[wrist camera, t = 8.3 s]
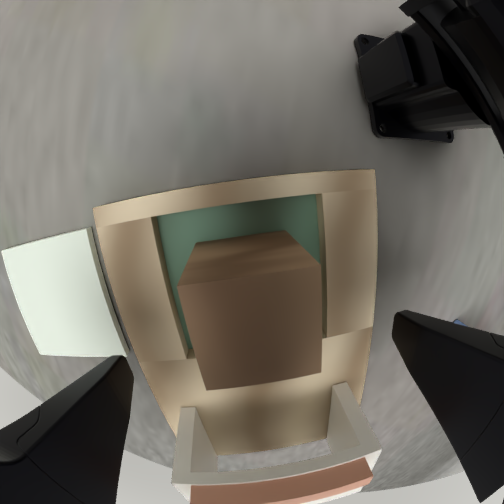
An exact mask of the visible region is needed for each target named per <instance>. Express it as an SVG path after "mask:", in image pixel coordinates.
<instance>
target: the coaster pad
mask: <svg viewBox="0 0 504 504" xmlns="http://www.w3.org/2000/svg"><path fill="white" fill-rule="evenodd" d="M1 252H2V256H3V260H4V263H5V267H6V270H7V274H8V277H9V280H10V283H11V286H12V289H13V292H14V295H15V298H16V300H17V303H18V306H19V308H20V311H21V313H22V316H23V318H24V321H25V323H26V325H27V328H28V330H29V332H30V334H31V336H32V339H33V341H34V343H35V345H36V347H37V349H38V351H39V353H40V355H55V356H79V357H110V356H112V355H123V356H124V357H127V355H128V353H129V349H128V346H127V344H126V341H125V339H124V336H123V333H122V331H121V328H120V325H119V323H118V320H117V317H116V314H115V311H114V308H113V305H112V302H111V299H110V296H109V293H108V290H107V287H106V283H105V280H104V277H103V273H102V269H101V266H100V262H99V258H98V254H97V250H96V246H95V242H94V238H93V233H92V228H91V227H88V228H84V229H79V230H75V231H71V232H67V233H63V234H59V235H55V236H51V237H47V238H43V239H39V240H35V241H32V242H28V243H24V244H21V245H17V246H14V247H10V248H7V249H5V250H2V251H1Z"/></svg>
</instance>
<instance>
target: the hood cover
mask: <svg viewBox="0 0 504 504" xmlns="http://www.w3.org/2000/svg"><path fill="white" fill-rule="evenodd" d="M326 440H327V442H328V445H329V448H330V451H331V453H332V454H328V455H325V456H321V457H317V458H313V459H308V460H304V461H299V462H294V463H289V464H284V465H278V466H271V467H265V468H257V469H248V470H238V471H224V472H218V456H217V454H216V452H215V450H214V448H213V446H212V444H211V442H210V440H209V437H208V435H207V433H206V431H205V429H204V426H203V424H202V422H201V419H200V417H199V415H198V412H197V410H196V407H185V408H181V409H180V416H179V423H178V430H177V438H176V446H175V454H174V462H173V471H172V482H171V484H172V485H173V486H174V487H175V488H176V489H177V490H178V491H179V492H180V493H181V494H182V495H183V496H184V497H185V498H186V499H187V500H188V501H189V502H190V504H319V503H323V502H326V501H330V500H334V499H337V498H340V497H344V496H347V495H350V494H353V493H356V492H359V491H360V490H361V489H362V487H363V486H364V485H367V484H369V483H370V481H371V479H372V477H373V474H372V472H371V471H372V469H373V467H374V465H375V463H376V461H377V459H378V457H379V455H380V453H381V451H382V447H381V445H380V443H379V441H378V440H377V438H376V436H375V434H374V432H373V430H372V428H371V426H370V424H369V423H368V421H367V419H366V417H365V415H364V413H363V411H362V409H361V408H360V406H359V404H358V402H357V400H356V398H355V397H354V395H353V393H352V391H351V389H350V387H349V385H348V384H347V382H344V383H340V384H337V385H333V386H332V397H331V406H330V415H329V424H328V432H327V439H326Z"/></svg>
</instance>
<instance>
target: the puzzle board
mask: <svg viewBox="0 0 504 504" xmlns="http://www.w3.org/2000/svg"><path fill="white" fill-rule="evenodd" d="M93 213H94V218H95V223H96V228H97V233H98V237H99V242H100V246H101V250H102V254H103V258H104V262H105V266H106V270H107V273H108V277H109V280H110V284H111V287H112V290H113V294H114V297H115V300H116V303H117V306H118V309H119V312H120V315H121V318H122V321H123V323H124V326H125V329H126V332H127V334H128V337H129V339H130V342H131V345H132V347H133V350H134V352H135V354H136V357H137V359H138V362H139V364H140V366H141V368H142V371H143V373H144V375H145V377H146V380H147V382H148V384H149V386H150V388H151V390H152V392H153V394H154V396H155V398H156V400H157V402H158V404H159V406H160V408H161V410H162V412H163V414H164V416H165V418H166V420H167V421H168V423H169V425H170V427H171V429H172V430H173V432H174V434H175V436H176V437H177V430H178V423H179V416H180V409H181V408H185V407H196V410H197V412H198V415H199V417H200V419H201V422H202V424H203V426H204V429H205V431H206V433H207V435H208V437H209V440H210V442H211V444H212V446H213V448H214V450H215V452H216V454H217V455H230V454H241V453H250V452H258V451H265V450H272V449H278V448H284V447H289V446H294V445H299V444H304V443H308V442H313V441H317V440H321V439H325V438H327V432H328V424H329V415H330V406H331V397H332V386H333V385H337V384H340V383H344V382H347V384H348V385H349V387H350V389H351V391H352V393H353V395H354V397H355V398H356V400H357V402H358V404H359V406H360V403H361V398H362V393H363V388H364V383H365V377H366V371H367V365H368V359H369V352H370V345H371V337H372V329H373V319H374V309H375V296H376V280H377V250H378V226H377V196H376V179H375V169H357V170H337V171H322V172H308V173H297V174H286V175H276V176H267V177H258V178H250V179H242V180H234V181H227V182H220V183H214V184H207V185H201V186H195V187H189V188H183V189H177V190H172V191H166V192H161V193H156V194H151V195H146V196H141V197H136V198H132V199H127V200H123V201H118V202H114V203H110V204H105V205H101V206H98V207H95V208H93ZM282 230H286V231H287V232H288V233H289V234H290V235H291V236H292V237H293V238H294V239H295V240H296V241H297V242H298V243H299V244H300V245H301V246H302V247H303V248H304V249H305V250H306V251H307V252H308V253H309V254H310V255H311V256H312V257H313V258H314V259H315V260H316V261H317V262H318V263H319V264H320V265H321V279H322V367H321V373H317V374H313V375H308V376H303V377H299V378H294V379H288V380H283V381H277V382H272V383H266V384H259V385H252V386H245V387H237V388H229V389H219V390H208V391H206V388H205V385H204V382H203V379H202V376H201V372H200V369H199V366H198V363H197V359H196V356H195V353H194V349H193V346H192V343H191V339H190V336H189V332H188V328H187V325H186V321H185V317H184V313H183V310H182V306H181V302H180V298H179V294H178V289H177V285H178V282H179V280H180V277H181V275H182V273H183V271H184V268H185V266H186V264H187V261H188V259H189V257H190V255H191V252H192V250H193V248H194V246H195V243H197V242H204V241H211V240H217V239H224V238H231V237H238V236H245V235H252V234H260V233H267V232H274V231H282Z"/></svg>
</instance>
